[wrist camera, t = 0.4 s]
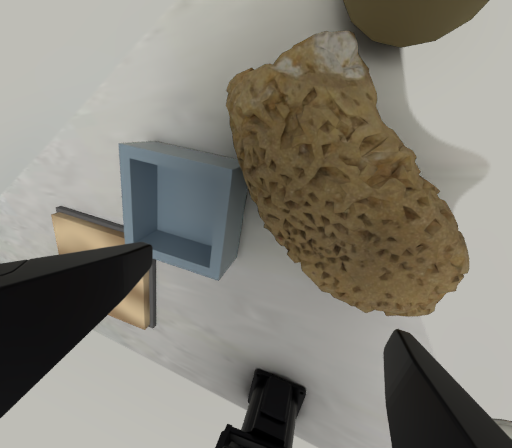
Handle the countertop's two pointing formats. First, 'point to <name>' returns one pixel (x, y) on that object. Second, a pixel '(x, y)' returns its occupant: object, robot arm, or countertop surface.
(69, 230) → the oak lid
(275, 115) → the sponge
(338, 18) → the countertop surface
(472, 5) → the squeeze bottle
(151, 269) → the rubber mat
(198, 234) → the ceramic dish
